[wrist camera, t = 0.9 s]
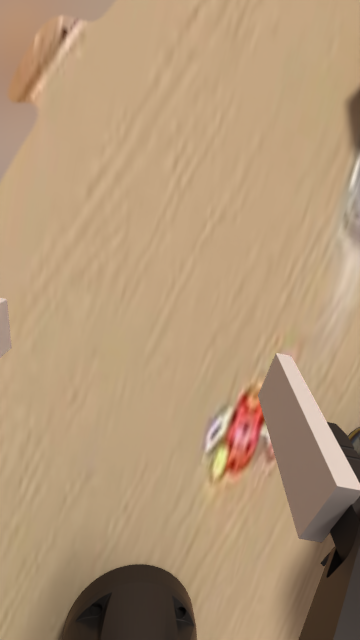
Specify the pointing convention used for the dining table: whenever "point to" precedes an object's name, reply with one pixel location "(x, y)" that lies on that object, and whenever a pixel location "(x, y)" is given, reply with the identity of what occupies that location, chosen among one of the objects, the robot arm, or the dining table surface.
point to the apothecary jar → (355, 439)
